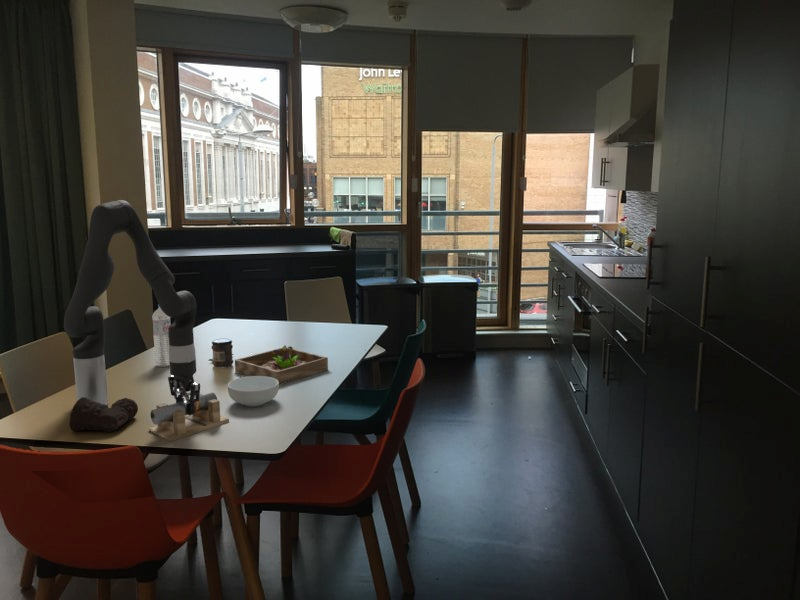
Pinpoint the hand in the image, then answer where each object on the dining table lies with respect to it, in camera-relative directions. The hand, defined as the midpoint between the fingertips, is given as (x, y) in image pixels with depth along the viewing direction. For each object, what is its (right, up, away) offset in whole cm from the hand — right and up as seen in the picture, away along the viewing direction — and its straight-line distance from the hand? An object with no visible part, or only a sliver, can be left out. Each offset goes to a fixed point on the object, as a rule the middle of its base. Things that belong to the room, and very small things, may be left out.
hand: (185, 412), depth 195 cm
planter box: (+18, +6, +59) cm, 62 cm away
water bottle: (-31, +7, +66) cm, 73 cm away
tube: (0, -1, 0) cm, 1 cm away
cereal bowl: (+16, -1, +23) cm, 28 cm away
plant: (+20, +5, +59) cm, 62 cm away
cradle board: (+1, -5, +2) cm, 5 cm away
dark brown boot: (-25, -5, +2) cm, 26 cm away
